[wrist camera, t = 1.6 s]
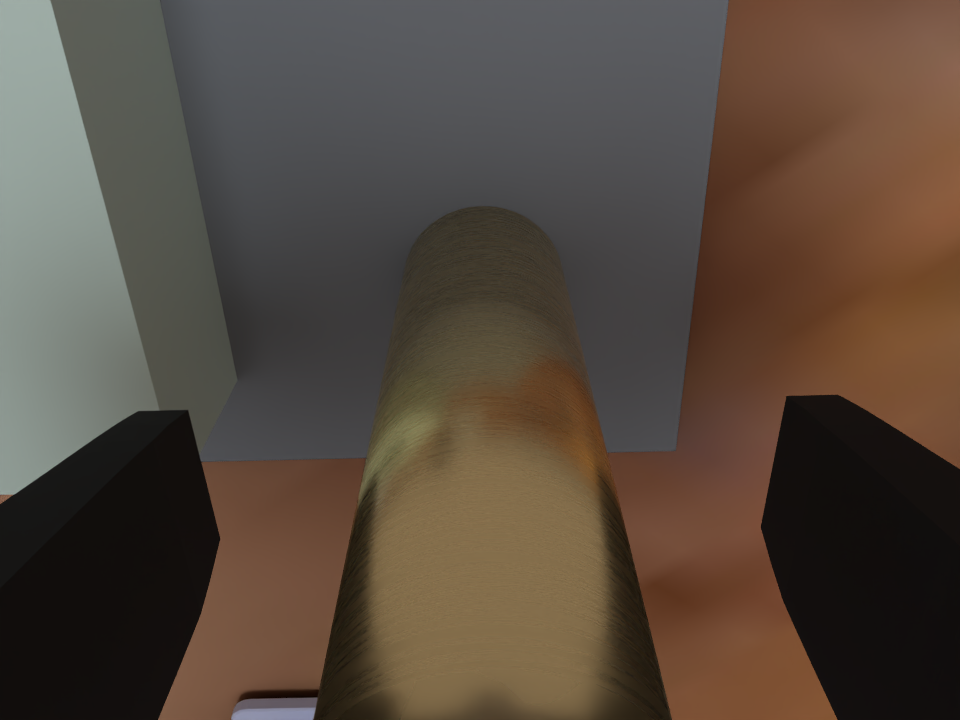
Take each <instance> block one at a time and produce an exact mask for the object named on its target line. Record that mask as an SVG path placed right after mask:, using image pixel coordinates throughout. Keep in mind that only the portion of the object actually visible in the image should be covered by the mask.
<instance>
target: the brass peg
mask: <svg viewBox="0 0 960 720" xmlns="http://www.w3.org/2000/svg"><path fill="white" fill-rule="evenodd" d="M313 720H672V718H671V714H670V710H669V706H668V702H667V697H666V693H665V689H664V685H663V681H662V677H661V673H660V669H659V665H658V660H657V656H656V652H655V648H654V644H653V640H652V636H651V632H650V627H649V623H648V619H647V615H646V611H645V607H644V603H643V599H642V594H641V590H640V586H639V582H638V578H637V574H636V570H635V566H634V562H633V557H632V553H631V549H630V545H629V541H628V537H627V533H626V529H625V524H624V520H623V516H622V512H621V508H620V504H619V500H618V496H617V491H616V487H615V483H614V479H613V475H612V471H611V467H610V463H609V459H608V454H607V450H606V446H605V442H604V438H603V434H602V430H601V426H600V421H599V417H598V413H597V409H596V405H595V401H594V397H593V393H592V388H591V384H590V380H589V376H588V372H587V368H586V364H585V360H584V356H583V351H582V347H581V343H580V339H579V335H578V331H577V327H576V323H575V318H574V314H573V310H572V306H571V302H570V298H569V294H568V290H567V285H566V281H565V277H564V273H563V269H562V265H561V261H560V258H559V255H558V252H557V250H556V248H555V246H554V244H553V243H552V241H551V240H550V239H549V237H548V236H547V235H546V233H545V232H544V231H543V230H542V229H541V228H540V227H539V226H537V225H536V224H535V223H534V222H533V221H531V220H529V219H528V218H526V217H525V216H523V215H521V214H518V213H516V212H514V211H511V210H507V209H504V208H499V207H493V206H476V207H468V208H464V209H459V210H456V211H454V212H451V213H449V214H447V215H445V216H443V217H441V218H439V219H438V220H436V221H435V222H433V223H432V224H431V225H430V226H428V227H427V228H426V229H425V230H424V231H423V232H422V233H421V235H420V236H419V237H418V238H417V240H416V241H415V243H414V244H413V246H412V248H411V250H410V252H409V255H408V257H407V261H406V264H405V268H404V273H403V278H402V283H401V288H400V293H399V298H398V303H397V308H396V313H395V318H394V323H393V328H392V333H391V338H390V343H389V347H388V352H387V357H386V362H385V367H384V372H383V377H382V382H381V387H380V392H379V397H378V402H377V407H376V412H375V417H374V422H373V427H372V431H371V436H370V441H369V446H368V451H367V456H366V461H365V466H364V471H363V476H362V481H361V486H360V491H359V496H358V501H357V506H356V511H355V515H354V520H353V525H352V530H351V535H350V540H349V545H348V550H347V555H346V560H345V565H344V570H343V575H342V580H341V585H340V590H339V595H338V599H337V604H336V609H335V614H334V619H333V624H332V629H331V634H330V639H329V644H328V649H327V654H326V659H325V664H324V669H323V674H322V679H321V683H320V688H319V693H318V698H317V703H316V708H315V713H314V718H313Z"/></svg>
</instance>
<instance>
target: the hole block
mask: <svg viewBox="0 0 960 720" xmlns="http://www.w3.org/2000/svg"><path fill="white" fill-rule="evenodd" d="M236 382H237V376H236V371H235V366H234V361H233V356H232V351H231V346H230V341H229V336H228V332H227V327H226V322H225V317H224V312H223V307H222V302H221V297H220V292H219V288H218V283H217V278H216V273H215V268H214V263H213V258H212V253H211V248H210V244H209V239H208V234H207V229H206V224H205V219H204V214H203V209H202V204H201V200H200V195H199V190H198V185H197V180H196V175H195V170H194V165H193V160H192V156H191V151H190V146H189V141H188V136H187V131H186V126H185V121H184V116H183V112H182V107H181V102H180V97H179V92H178V87H177V82H176V77H175V72H174V68H173V63H172V58H171V53H170V48H169V43H168V38H167V33H166V28H165V24H164V19H163V14H162V9H161V4H160V0H0V495H6V494H16V493H17V492H19V491H20V490H22V489H23V488H24V487H26V486H27V485H29V484H30V483H32V482H33V481H35V480H36V479H37V478H39V477H40V476H42V475H43V474H45V473H46V472H48V471H49V470H50V469H52V468H53V467H55V466H56V465H58V464H59V463H60V462H62V461H63V460H65V459H66V458H67V457H69V456H70V455H72V454H73V453H75V452H76V451H77V450H79V449H80V448H82V447H83V446H85V445H86V444H88V443H89V442H90V441H92V440H93V439H95V438H96V437H98V436H99V435H101V434H102V433H104V432H105V431H107V430H108V429H110V428H111V427H113V426H114V425H116V424H117V423H119V422H120V421H122V420H124V419H125V418H127V417H129V416H130V415H132V414H134V413H136V412H137V411H158V410H188V411H189V415H190V419H191V423H192V427H193V431H194V435H195V439H196V443H197V447H198V451H199V454H200V453H201V451H202V449H203V447H204V445H205V443H206V441H207V439H208V437H209V435H210V433H211V431H212V429H213V427H214V425H215V423H216V421H217V419H218V417H219V415H220V413H221V411H222V410H223V408H224V406H225V404H226V402H227V400H228V398H229V396H230V394H231V392H232V390H233V388H234V386H235V384H236Z"/></svg>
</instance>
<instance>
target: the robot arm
mask: <svg viewBox="0 0 960 720" xmlns="http://www.w3.org/2000/svg"><path fill="white" fill-rule="evenodd" d="M761 530H762V533H763V537H764V540H765V543H766V547H767V550H768V554H769V557H770V561H771V564H772V568H773V571H774V574H775V577H776V580H777V583H778V586H779V589H780V592H781V595H782V599H783V602H784V604H785V606H786V608H787V611H788V613H789V615H790V617H791V620H792V622H793V624H794V626H795V629H796V631H797V633H798V635H799V637H800V639H801V642H802V644H803V646H804V648H805V650H806V653H807V655H808V657H809V659H810V661H811V664H812V666H813V668H814V670H815V672H816V674H817V676H818V679H819V681H820V683H821V685H822V687H823V689H824V692H825V694H826V696H827V698H828V700H829V702H830V704H831V707H832V709H833V711H834V713H835V715H836V717H837V719H838V720H960V469H959V468H957V467H955V466H954V465H952V464H951V463H949V462H947V461H946V460H944V459H943V458H941V457H940V456H938V455H936V454H935V453H933V452H932V451H930V450H928V449H927V448H925V447H924V446H922V445H921V444H919V443H917V442H916V441H914V440H913V439H911V438H910V437H908V436H906V435H905V434H903V433H902V432H900V431H899V430H897V429H895V428H894V427H892V426H891V425H889V424H887V423H886V422H884V421H883V420H881V419H879V418H878V417H876V416H875V415H873V414H871V413H870V412H868V411H866V410H865V409H863V408H861V407H859V406H858V405H856V404H854V403H852V402H851V401H849V400H847V399H845V398H843V397H841V396H839V395H811V396H786V402H785V407H784V412H783V417H782V422H781V427H780V432H779V437H778V442H777V447H776V452H775V457H774V463H773V468H772V473H771V478H770V483H769V488H768V493H767V498H766V503H765V508H764V513H763V518H762V524H761ZM219 541H220V536H219V532H218V528H217V524H216V520H215V516H214V512H213V508H212V504H211V500H210V496H209V492H208V488H207V484H206V480H205V476H204V472H203V468H202V463H201V459H200V455H199V451H198V447H197V443H196V439H195V435H194V431H193V427H192V423H191V419H190V415H189V411H188V410H158V411H137V412H136V413H134V414H132V415H130V416H129V417H127V418H125V419H124V420H122V421H120V422H119V423H117V424H116V425H114V426H113V427H111V428H110V429H108V430H107V431H105V432H104V433H102V434H101V435H99V436H98V437H96V438H95V439H93V440H92V441H90V442H89V443H88V444H86V445H85V446H83V447H82V448H80V449H79V450H77V451H76V452H75V453H73V454H72V455H70V456H69V457H67V458H66V459H65V460H63V461H62V462H60V463H59V464H58V465H56V466H55V467H53V468H52V469H50V470H49V471H48V472H46V473H45V474H43V475H42V476H40V477H39V478H37V479H36V480H35V481H33V482H32V483H30V484H29V485H27V486H26V487H24V488H23V489H22V490H20V491H19V492H17V493H16V494H14V495H13V496H11V497H10V498H9V499H7V500H6V501H4V502H3V503H1V504H0V720H158V718H159V716H160V713H161V711H162V708H163V706H164V704H165V701H166V699H167V696H168V694H169V692H170V689H171V687H172V684H173V682H174V679H175V677H176V675H177V672H178V670H179V667H180V665H181V662H182V660H183V657H184V655H185V652H186V650H187V647H188V645H189V642H190V640H191V637H192V635H193V632H194V630H195V627H196V625H197V622H198V620H199V617H200V614H201V611H202V608H203V604H204V600H205V597H206V593H207V590H208V586H209V582H210V579H211V574H212V570H213V566H214V562H215V558H216V554H217V550H218V546H219ZM317 698H318V697H314V698H264V699H246V700H242V701H240V702H238V703H237V704H236V706H235V707H234V710H233V714H232V717H231V720H313V718H314V713H315V708H316V703H317Z"/></svg>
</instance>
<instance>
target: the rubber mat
mask: <svg viewBox="0 0 960 720" xmlns="http://www.w3.org/2000/svg"><path fill="white" fill-rule="evenodd" d="M728 1H729V0H160V4H161V9H162V14H163V19H164V24H165V28H166V33H167V38H168V43H169V48H170V53H171V58H172V63H173V68H174V72H175V77H176V82H177V87H178V92H179V97H180V102H181V107H182V112H183V116H184V121H185V126H186V131H187V136H188V141H189V146H190V151H191V156H192V160H193V165H194V170H195V175H196V180H197V185H198V190H199V195H200V200H201V204H202V209H203V214H204V219H205V224H206V229H207V234H208V239H209V244H210V248H211V253H212V258H213V263H214V268H215V273H216V278H217V283H218V288H219V292H220V297H221V302H222V307H223V312H224V317H225V322H226V327H227V332H228V336H229V341H230V346H231V351H232V356H233V361H234V366H235V371H236V376H237V382H236V384H235V386H234V388H233V390H232V392H231V394H230V396H229V398H228V400H227V402H226V404H225V406H224V408H223V410H222V411H221V413H220V415H219V417H218V419H217V421H216V423H215V425H214V427H213V429H212V431H211V433H210V435H209V437H208V439H207V441H206V443H205V445H204V447H203V449H202V451H201V453H200V454H199V455H200V459H201V462H214V461H258V460H301V459H345V458H366V456H367V451H368V446H369V441H370V436H371V431H372V427H373V422H374V417H375V412H376V407H377V402H378V397H379V392H380V387H381V382H382V377H383V372H384V367H385V362H386V357H387V352H388V347H389V343H390V338H391V333H392V328H393V323H394V318H395V313H396V308H397V303H398V298H399V293H400V288H401V283H402V278H403V273H404V268H405V264H406V261H407V257H408V255H409V252H410V250H411V248H412V246H413V244H414V243H415V241H416V240H417V238H418V237H419V236H420V235H421V233H422V232H423V231H424V230H425V229H426V228H427V227H428V226H430V225H431V224H432V223H433V222H435V221H436V220H438V219H439V218H441V217H443V216H445V215H447V214H449V213H451V212H454V211H456V210H459V209H464V208H468V207H476V206H493V207H499V208H504V209H507V210H511V211H514V212H516V213H518V214H521V215H523V216H525V217H526V218H528V219H529V220H531V221H533V222H534V223H535V224H536V225H537V226H539V227H540V228H541V229H542V230H543V231H544V232H545V233H546V235H547V236H548V237H549V239H550V240H551V241H552V243H553V244H554V246H555V248H556V250H557V252H558V255H559V258H560V261H561V265H562V269H563V273H564V277H565V281H566V285H567V290H568V294H569V298H570V302H571V306H572V310H573V314H574V318H575V323H576V327H577V331H578V335H579V339H580V343H581V347H582V351H583V356H584V360H585V364H586V368H587V372H588V376H589V380H590V384H591V388H592V393H593V397H594V401H595V405H596V409H597V413H598V417H599V421H600V426H601V430H602V434H603V438H604V442H605V446H606V450H607V452H650V451H676V443H677V435H678V426H679V418H680V409H681V401H682V392H683V384H684V375H685V367H686V358H687V350H688V341H689V333H690V324H691V316H692V307H693V299H694V290H695V282H696V273H697V265H698V256H699V248H700V239H701V231H702V222H703V214H704V205H705V197H706V188H707V180H708V171H709V163H710V154H711V146H712V137H713V129H714V120H715V112H716V103H717V95H718V86H719V78H720V69H721V61H722V52H723V44H724V35H725V27H726V18H727V10H728Z"/></svg>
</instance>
